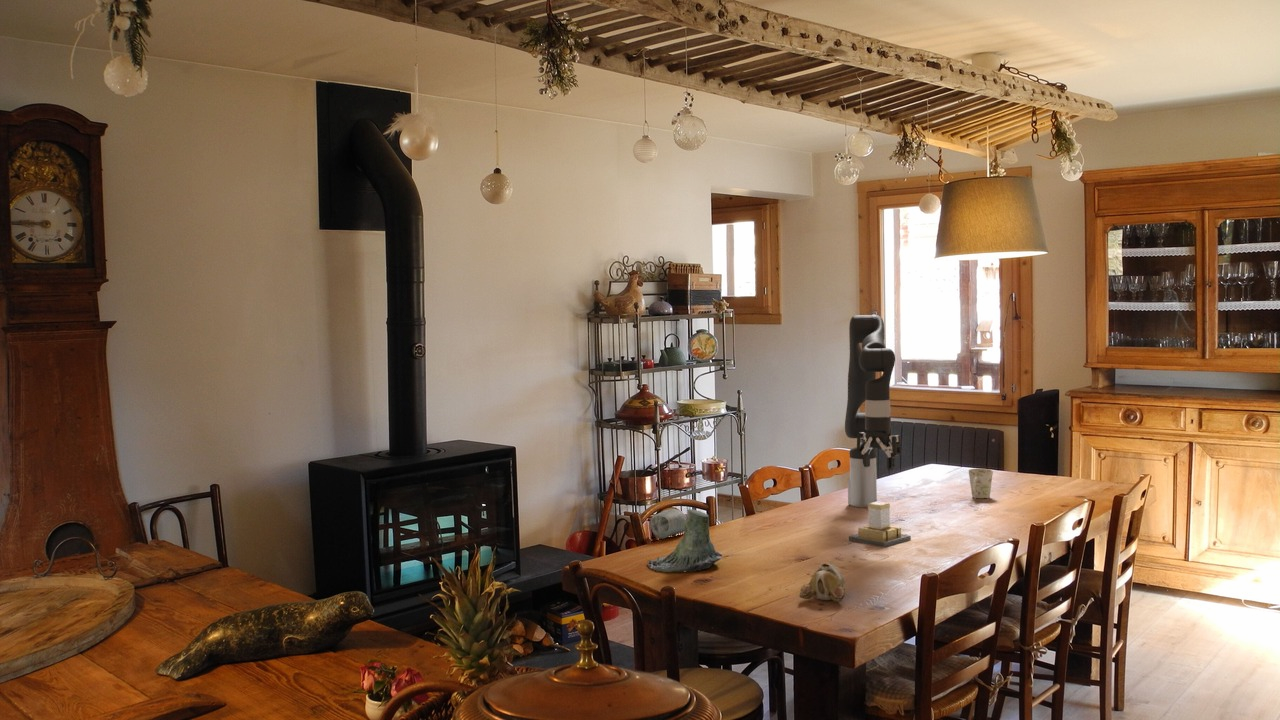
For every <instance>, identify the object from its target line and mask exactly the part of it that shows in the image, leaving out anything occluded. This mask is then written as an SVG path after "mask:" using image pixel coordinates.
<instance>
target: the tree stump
mask: <svg viewBox="0 0 1280 720" xmlns="http://www.w3.org/2000/svg"><path fill="white" fill-rule="evenodd" d="M686 513H687V515H686V525H684V528H685V530H684V532H683V534H682V539H681V540H679V541H678V542H677V545H676V547H675V548H674V549H673V550H672V551H671V552H670V553H669V554H668V555H667V556H661V557H659V556H658V557H657V558H655V559H653V560H649V559H648V560H647V566H648V568H649V569H650V570H652V569H653V570H652V571H655V570H656V571H655V572H659V571H662V572H661V573H665V572H670V573H669V574H672V573H671V572H683V573H685V572H684V571H692V572H696V571H695V570H698V571H701V570H700V569H703V570H707V569H706V568H708V569H709V568H710V567H711V566H712V565H714V564H715V563H717V562H718V561H720V560H721V559H722V558H723V554H721V553H720V552H718V551H717V550H716V549H715V546H714V544H713V542H712V540H711V535H710V516H709V514H708V513H706V512H704V511H700V510H697V509H692V508H691V509H689V508H688V509H687V512H686ZM657 565H658V566H657Z"/></svg>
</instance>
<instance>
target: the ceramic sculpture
mask: <svg viewBox="0 0 1280 720" xmlns="http://www.w3.org/2000/svg"><path fill="white" fill-rule="evenodd" d="M845 581H846V579H845V576H843V573H842V572H841V570H840V569H839V567H837V565H835V564H834V563H833V562H832V561H829V563H823V564H821V565H820V566H819V567H818V569H817V570H816V571H814V572H813V574H812V576H811V578H810V581H809V583H805V584H803V586H801V588H800V591H799V598H800V599H803V600H810V599H812V598H813V596H814V597H815V598H816V599H818V600H821V601H830V600H831V601H834V602H836V603H839V602H841V601H842V600H843V599H844V597H845V594H846V593H845V592H846V591H845V590H846V589H845V587H844V585H845Z"/></svg>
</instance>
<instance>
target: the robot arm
mask: <svg viewBox="0 0 1280 720" xmlns="http://www.w3.org/2000/svg"><path fill="white" fill-rule="evenodd" d="M848 327H849V329H848V330H849V334H848V335H849V337H848V338H849V339H848V340H849V362H848V363H849V364H848V373H847V402H846V404H847V405H846V410H845V411H846V412H845V421H844V431H845V435H846V437H847V438H849V439H856V446H854V447H852V448H851V449H850V450H849V477H848V478H847V504H848V505H849V504H850V506H851V507H855V508H868V503H872V502H876V501H878V498H877V497H878V494H877V491H878V490H877V488H878V487H877V449H880V450H882V451H883V452H884V453H885V454H886V456H887V458H886V465H887V466H886V468H887V470H888V471H892V470H894V469H895V467H896V462H895V461H896V460H895V458H896V457H898V456H901V454H902V452H901V450H902V449H901V437H900V434H897V435H891V429H892V423H891V422H892V417H891V415H892V414H891V410H892V409H891V402H890V401H891V400H890V397H891V396H890V385H891V384H890V383H891V379H892V373H893V371H894V368H895V364H896V354H895V352H894V351H893V350H892V348H886V344H885V323H884V320H883V318H882V317H881V316H880V315H875V314H874V315H873V314H864V315H862V314H861V315H860V314H859V315H853V316H852V317H851V318H850V319H849V325H848ZM878 372H879V373H880V372H882V375H880V377H879V378H876V375H877V373H878ZM863 404H865V406H864V411H863V412H858V411H859V409H860V407H861V406H862V405H863Z"/></svg>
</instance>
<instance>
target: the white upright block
mask: <svg viewBox="0 0 1280 720" xmlns="http://www.w3.org/2000/svg"><path fill="white" fill-rule="evenodd" d="M890 508H891V503H890V502H883V501H879V500H877V501H876V502H872V503H868V507H867V509H868V525H869V529H874V530H879V531H884V530H887V529H890V526H891V517H890V515H891V514H890Z"/></svg>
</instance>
